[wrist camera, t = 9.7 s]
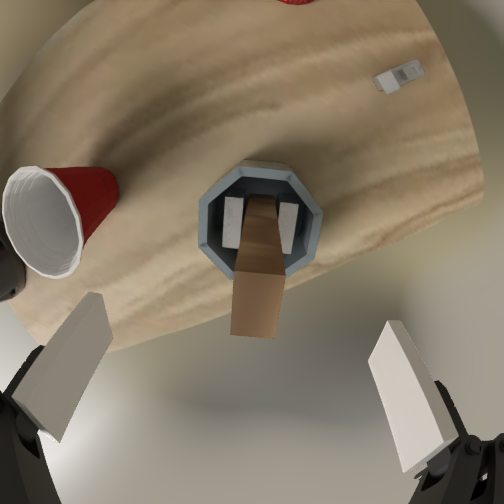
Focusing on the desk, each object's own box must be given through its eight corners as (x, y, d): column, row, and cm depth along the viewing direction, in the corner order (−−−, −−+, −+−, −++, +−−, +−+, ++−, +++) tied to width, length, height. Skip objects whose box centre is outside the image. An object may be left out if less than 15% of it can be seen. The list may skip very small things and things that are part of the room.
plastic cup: (96, 247, 31) (41, 297, 20) (57, 179, 27) (-10, 208, 17) (156, 208, 29) (100, 255, 18) (111, 128, 25) (37, 138, 14)
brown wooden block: (246, 229, 29) (230, 334, 14) (249, 193, 27) (234, 270, 13) (269, 232, 29) (274, 338, 14) (273, 195, 27) (285, 275, 13)
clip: (227, 231, 29) (222, 247, 25) (230, 187, 27) (225, 196, 23) (287, 237, 29) (290, 254, 25) (294, 194, 27) (298, 204, 23)
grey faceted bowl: (208, 251, 31) (197, 276, 26) (213, 157, 26) (200, 163, 21) (301, 261, 31) (308, 287, 26) (317, 168, 26) (329, 177, 21)
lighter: (398, 65, 20) (437, 51, 13) (406, 79, 21) (447, 69, 14) (348, 87, 22) (378, 74, 15) (357, 102, 23) (390, 94, 16)
